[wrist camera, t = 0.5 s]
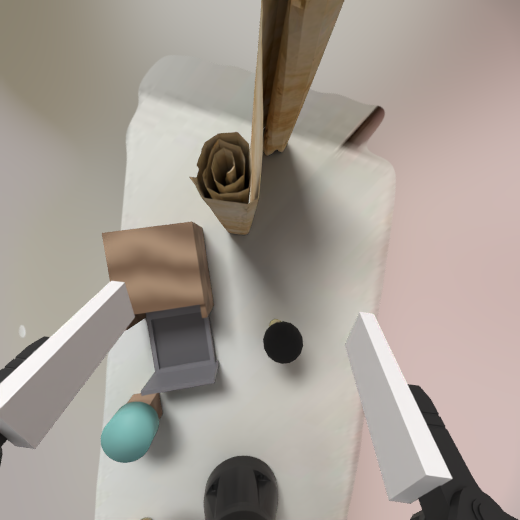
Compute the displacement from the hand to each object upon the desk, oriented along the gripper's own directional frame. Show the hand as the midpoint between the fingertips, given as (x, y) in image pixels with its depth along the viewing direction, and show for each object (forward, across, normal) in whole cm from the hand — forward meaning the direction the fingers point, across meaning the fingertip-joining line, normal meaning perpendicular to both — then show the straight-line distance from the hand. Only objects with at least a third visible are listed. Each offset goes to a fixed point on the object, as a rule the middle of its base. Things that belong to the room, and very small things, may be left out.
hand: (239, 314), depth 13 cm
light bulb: (+24, -5, +26) cm, 36 cm away
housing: (+26, +17, +18) cm, 36 cm away
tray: (+20, +14, +27) cm, 37 cm away
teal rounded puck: (+8, +19, +39) cm, 44 cm away
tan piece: (+38, +3, +1) cm, 38 cm away
